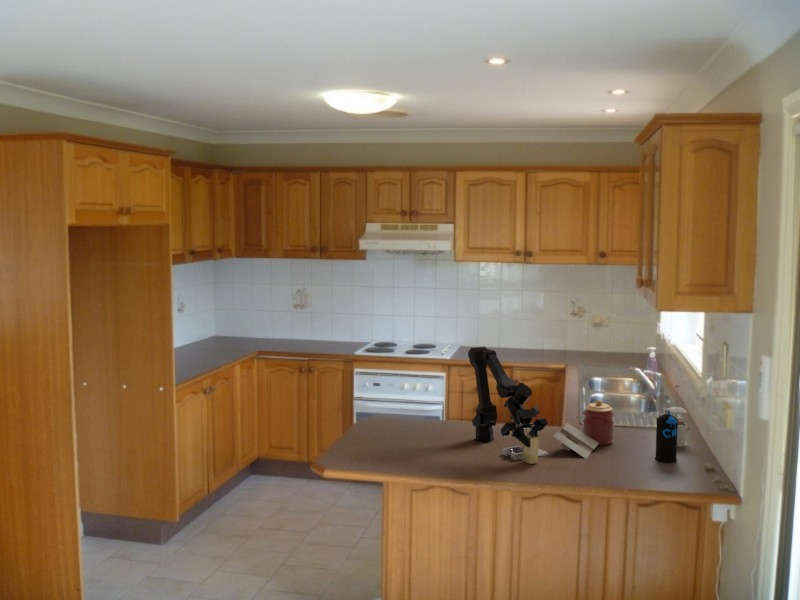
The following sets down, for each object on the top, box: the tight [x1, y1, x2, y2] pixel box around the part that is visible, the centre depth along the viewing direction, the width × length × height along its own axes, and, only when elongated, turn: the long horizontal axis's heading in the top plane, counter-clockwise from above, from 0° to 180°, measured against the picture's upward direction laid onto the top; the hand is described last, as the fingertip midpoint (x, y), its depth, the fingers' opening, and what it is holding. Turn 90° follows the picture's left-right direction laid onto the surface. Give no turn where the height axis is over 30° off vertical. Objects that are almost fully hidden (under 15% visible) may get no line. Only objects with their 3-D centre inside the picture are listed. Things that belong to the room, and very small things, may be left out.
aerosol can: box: [654, 408, 679, 464], centre depth 304 cm, size 8×8×20 cm
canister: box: [582, 399, 615, 446], centre depth 330 cm, size 13×13×18 cm
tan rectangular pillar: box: [523, 434, 539, 465], centre depth 301 cm, size 4×4×10 cm
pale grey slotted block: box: [553, 422, 599, 459], centre depth 317 cm, size 16×9×15 cm
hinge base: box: [502, 445, 550, 461], centre depth 311 cm, size 17×9×3 cm, turn 115°
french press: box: [667, 383, 688, 447], centre depth 327 cm, size 10×12×25 cm
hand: (532, 446), depth 299 cm, fingers closed on tan rectangular pillar, 4 cm apart
